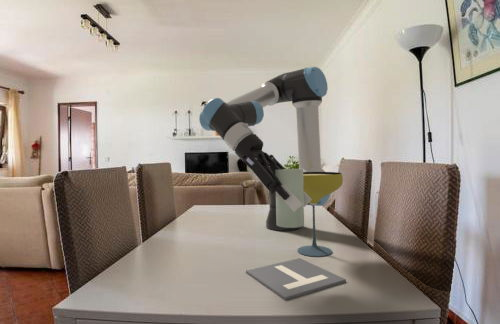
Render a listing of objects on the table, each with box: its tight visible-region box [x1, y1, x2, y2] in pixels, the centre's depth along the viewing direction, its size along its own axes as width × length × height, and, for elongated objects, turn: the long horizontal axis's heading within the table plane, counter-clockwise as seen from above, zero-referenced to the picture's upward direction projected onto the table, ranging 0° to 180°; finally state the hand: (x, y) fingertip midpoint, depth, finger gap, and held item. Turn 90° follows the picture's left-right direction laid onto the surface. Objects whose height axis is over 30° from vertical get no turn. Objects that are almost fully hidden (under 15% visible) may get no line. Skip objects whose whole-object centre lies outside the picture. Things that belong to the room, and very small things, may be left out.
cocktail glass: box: [297, 171, 344, 258], centre depth 97 cm, size 18×18×25 cm
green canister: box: [275, 168, 305, 228], centre depth 77 cm, size 7×7×14 cm
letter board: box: [245, 257, 347, 301], centre depth 78 cm, size 18×18×1 cm
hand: (303, 205), depth 76 cm, fingers closed on green canister, 7 cm apart
